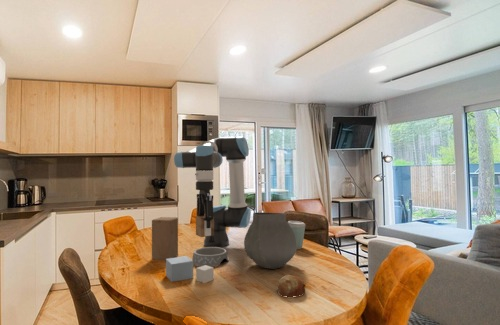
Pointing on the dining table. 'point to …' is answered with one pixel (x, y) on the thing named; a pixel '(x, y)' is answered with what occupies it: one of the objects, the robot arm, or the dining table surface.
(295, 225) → the disposable coffee cup
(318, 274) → the dining table surface
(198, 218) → the walnut block
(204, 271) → the grey cube
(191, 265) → the slate block
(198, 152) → the robot arm
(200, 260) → the dog bowl
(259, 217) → the ceramic pot
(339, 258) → the dining table surface
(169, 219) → the wooden block
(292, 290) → the bread roll
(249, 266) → the dining table surface
